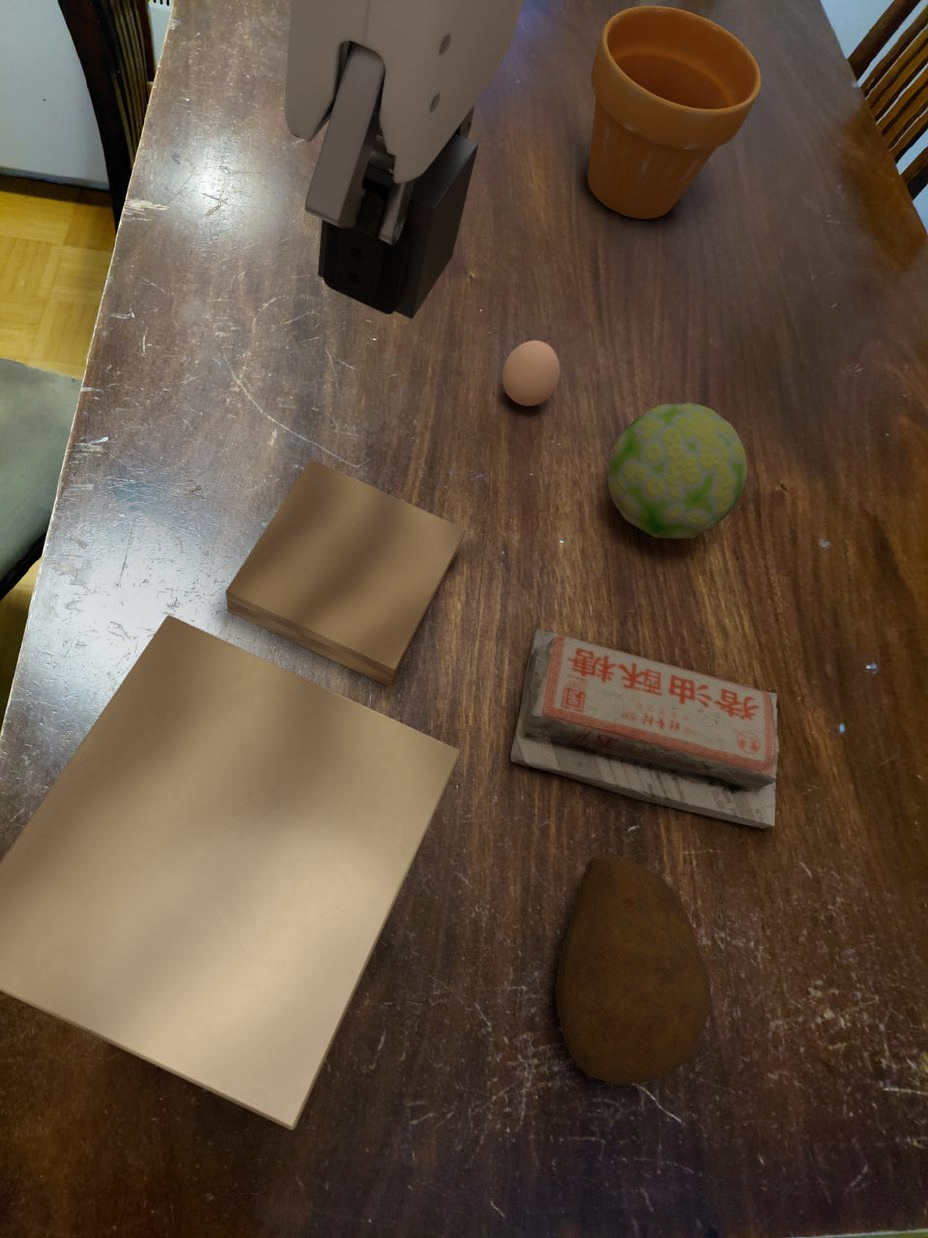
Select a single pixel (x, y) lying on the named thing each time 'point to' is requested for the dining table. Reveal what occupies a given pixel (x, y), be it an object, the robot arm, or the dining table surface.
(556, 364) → the egg
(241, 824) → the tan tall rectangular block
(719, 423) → the decorative ball
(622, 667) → the packaged product
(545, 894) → the dining table surface
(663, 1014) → the potato
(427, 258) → the block
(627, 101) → the flower pot
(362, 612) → the tan flat square block
